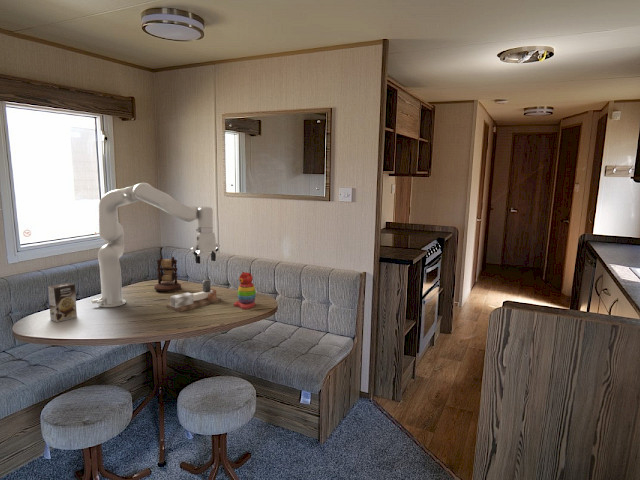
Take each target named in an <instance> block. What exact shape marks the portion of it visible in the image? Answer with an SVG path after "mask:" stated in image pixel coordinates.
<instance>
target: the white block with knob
mask: <svg viewBox="0 0 640 480" xmlns="http://www.w3.org/2000/svg"><path fill="white" fill-rule="evenodd" d="M211 286H212V285H211V279H203V280H202V291H199V292H194V293H192V294H193V301H195V300H199V299H203V298H207V297H208V294H210V293H213V291H212V290H211V289H212V288H211Z"/></svg>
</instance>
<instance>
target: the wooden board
mask: <svg viewBox="0 0 640 480" xmlns="http://www.w3.org/2000/svg"><path fill="white" fill-rule="evenodd" d="M211 290H212V291H213V293H210V294H208V297H207V298H203V299H199V300H195V301H193V293H191V292H188V291H187V292H184V293H180V294H175V295H170V297H169V298H170V303H167V304H165V307H166V308H169V309H170V310H173V311H176V312H178V313H181V312H183V311H184V312H185V311H187V310H192V309H196V308H199V307H204V306H207V305H210V304H215V303H218V302H221V301H222V298H219V297H217V289H214V288H211Z"/></svg>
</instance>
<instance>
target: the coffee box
mask: <svg viewBox="0 0 640 480" xmlns="http://www.w3.org/2000/svg"><path fill="white" fill-rule="evenodd" d="M48 298H49V299H48V301H49V315H50V316H49V317H50V320H51V321H53V322H56V323H59V322H60V323H61V322H64V321H67V320H71V319H75V318H77V317H78V314H77V313H78V312H77V298H76V284H75V283H72V282H66V283H65V282H64V283H60V284H53V285H48Z"/></svg>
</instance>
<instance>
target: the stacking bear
mask: <svg viewBox="0 0 640 480" xmlns="http://www.w3.org/2000/svg"><path fill="white" fill-rule="evenodd" d="M253 279H254V278H253V275H252V273H250V272H245V271H242V273H241V274H240V276H239V277H238V280H239V286H238V289H237V298H238V300H236V301H234V304H233V306H234V307H238V308H241V309H242V310H250V309H253V308H254V307H255V306H256V302H255V301H256V296H257V294H256V293H257V292H256V287H255V284H254V283H253Z"/></svg>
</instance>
